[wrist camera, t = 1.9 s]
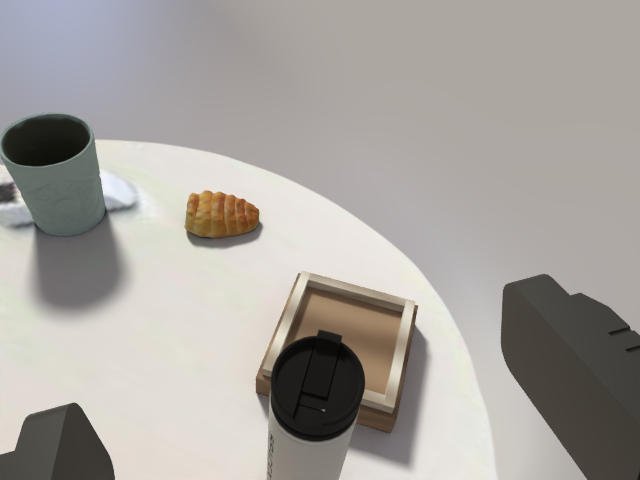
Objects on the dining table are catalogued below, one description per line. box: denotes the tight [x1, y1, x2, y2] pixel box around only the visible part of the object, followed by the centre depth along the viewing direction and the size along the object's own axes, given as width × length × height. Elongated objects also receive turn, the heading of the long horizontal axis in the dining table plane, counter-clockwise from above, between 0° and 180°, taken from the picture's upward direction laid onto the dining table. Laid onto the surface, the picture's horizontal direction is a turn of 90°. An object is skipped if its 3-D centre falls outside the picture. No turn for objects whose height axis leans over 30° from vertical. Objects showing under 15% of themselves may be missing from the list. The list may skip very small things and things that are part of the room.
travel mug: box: [267, 330, 365, 480], centre depth 42 cm, size 6×7×20 cm
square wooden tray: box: [256, 271, 418, 433], centre depth 57 cm, size 14×14×4 cm
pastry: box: [185, 191, 259, 238], centre depth 70 cm, size 9×7×4 cm
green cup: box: [0, 113, 105, 237], centre depth 65 cm, size 10×10×12 cm
